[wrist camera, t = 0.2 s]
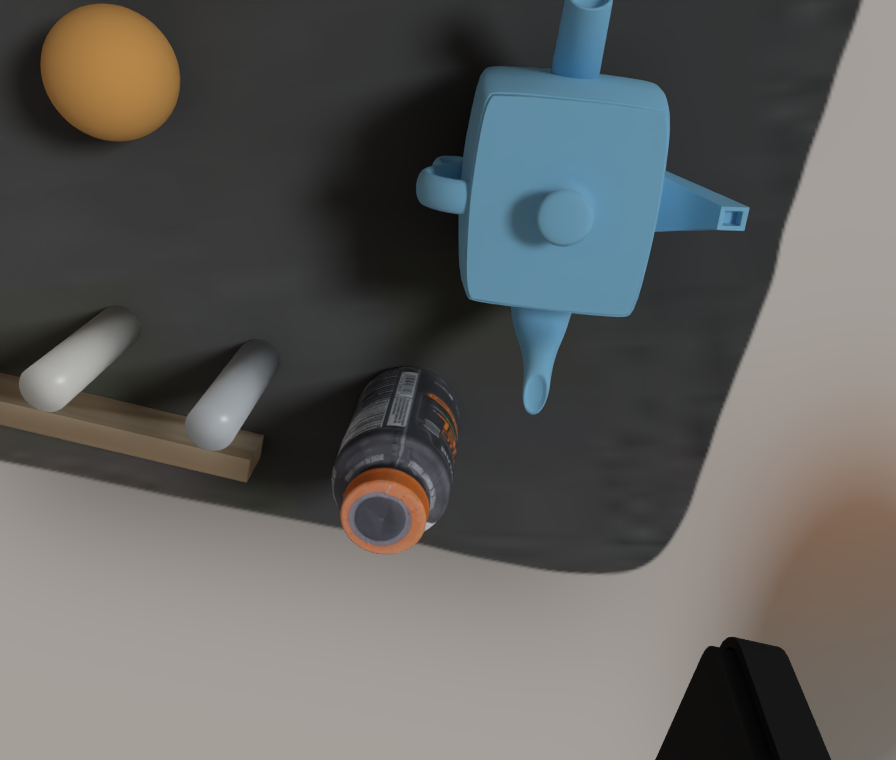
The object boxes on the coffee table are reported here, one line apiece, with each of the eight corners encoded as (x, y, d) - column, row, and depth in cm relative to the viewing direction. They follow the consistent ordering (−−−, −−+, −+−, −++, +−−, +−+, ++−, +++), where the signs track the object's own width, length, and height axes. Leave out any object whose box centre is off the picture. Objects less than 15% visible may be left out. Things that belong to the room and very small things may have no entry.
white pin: (99, 301, 47) (19, 360, 40) (142, 311, 47) (69, 372, 40) (97, 339, 48) (18, 405, 41) (138, 349, 48) (68, 417, 41)
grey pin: (240, 335, 48) (187, 400, 40) (282, 345, 48) (237, 412, 40) (235, 373, 49) (182, 444, 41) (276, 382, 49) (231, 455, 41)
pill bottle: (469, 448, 50) (458, 567, 39) (372, 463, 50) (336, 582, 40) (449, 355, 47) (431, 455, 37) (347, 372, 48) (302, 474, 38)
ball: (81, -11, 41) (14, -12, 35) (204, 20, 41) (156, 23, 35) (75, 115, 43) (12, 132, 38) (191, 144, 43) (145, 165, 38)
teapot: (445, -35, 39) (425, -45, 30) (749, -5, 39) (822, -6, 30) (416, 327, 47) (392, 408, 38) (671, 355, 46) (710, 444, 37)
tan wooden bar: (-38, 363, 50) (-70, 384, 47) (264, 434, 50) (250, 460, 47) (-38, 385, 50) (-70, 408, 47) (260, 456, 51) (246, 482, 48)
